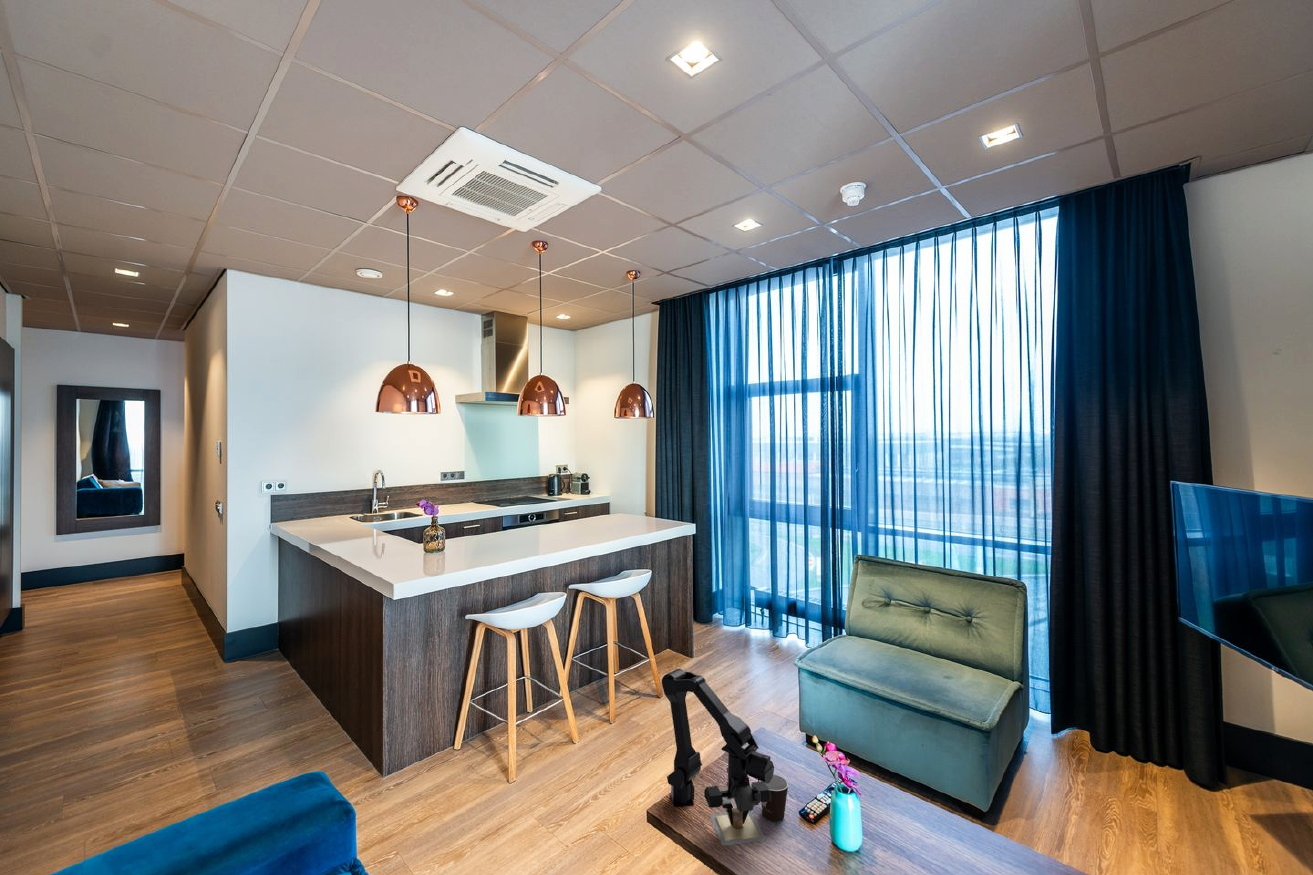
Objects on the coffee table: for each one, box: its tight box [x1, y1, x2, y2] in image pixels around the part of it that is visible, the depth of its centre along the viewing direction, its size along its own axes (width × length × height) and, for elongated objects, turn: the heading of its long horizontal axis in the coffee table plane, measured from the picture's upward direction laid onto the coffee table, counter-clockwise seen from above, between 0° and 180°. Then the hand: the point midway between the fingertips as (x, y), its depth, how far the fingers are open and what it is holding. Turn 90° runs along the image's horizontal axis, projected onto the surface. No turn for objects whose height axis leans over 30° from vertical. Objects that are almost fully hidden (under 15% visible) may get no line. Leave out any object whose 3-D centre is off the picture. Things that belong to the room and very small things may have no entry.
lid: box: [716, 807, 760, 841], centre depth 160 cm, size 10×10×4 cm
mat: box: [709, 811, 767, 847], centre depth 160 cm, size 13×13×1 cm
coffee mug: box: [757, 773, 789, 823], centre depth 168 cm, size 12×9×10 cm
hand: (737, 823), depth 160 cm, fingers closed on lid, 3 cm apart
